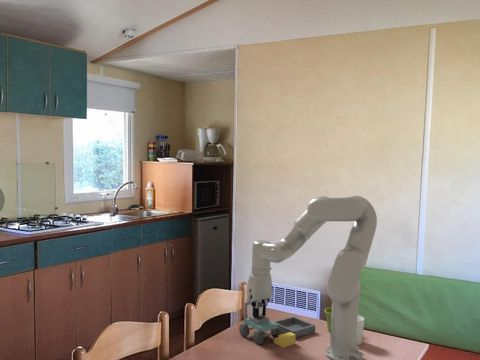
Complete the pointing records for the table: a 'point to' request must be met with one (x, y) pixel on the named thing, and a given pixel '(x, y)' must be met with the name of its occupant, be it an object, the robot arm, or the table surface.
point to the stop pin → (260, 310)
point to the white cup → (359, 329)
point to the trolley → (258, 327)
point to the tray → (295, 326)
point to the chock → (285, 339)
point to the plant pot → (328, 318)
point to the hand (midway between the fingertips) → (259, 315)
